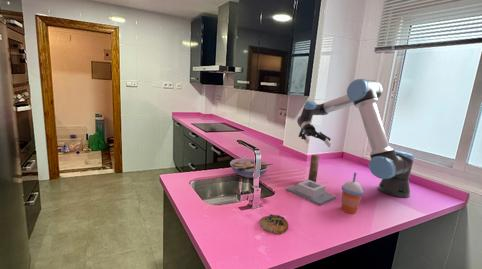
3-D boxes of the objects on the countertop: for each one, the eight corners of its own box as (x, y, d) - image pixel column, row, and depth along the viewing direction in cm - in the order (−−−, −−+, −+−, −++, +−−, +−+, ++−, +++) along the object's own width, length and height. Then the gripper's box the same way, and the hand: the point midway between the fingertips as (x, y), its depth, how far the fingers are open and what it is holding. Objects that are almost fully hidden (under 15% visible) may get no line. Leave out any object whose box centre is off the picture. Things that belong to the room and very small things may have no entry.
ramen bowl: (253, 167, 165) (254, 155, 163) (277, 179, 146) (278, 165, 145) (220, 172, 150) (221, 159, 149) (242, 186, 132) (243, 171, 130)
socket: (335, 198, 126) (336, 188, 125) (319, 205, 117) (321, 195, 115) (302, 184, 140) (303, 176, 139) (286, 190, 131) (287, 181, 130)
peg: (317, 183, 145) (321, 156, 141) (313, 184, 142) (316, 157, 139) (310, 180, 148) (314, 154, 145) (306, 182, 145) (309, 155, 142)
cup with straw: (347, 216, 109) (353, 176, 105) (334, 206, 117) (339, 169, 114) (364, 214, 111) (371, 176, 108) (350, 204, 120) (356, 169, 116)
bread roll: (284, 219, 103) (286, 208, 101) (290, 238, 92) (292, 227, 91) (257, 218, 102) (258, 208, 101) (260, 238, 92) (261, 227, 90)
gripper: (323, 136, 169) (336, 152, 150) (288, 130, 165) (296, 145, 146) (327, 126, 166) (341, 141, 147) (291, 120, 162) (300, 134, 143)
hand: (319, 143), depth 146 cm, fingers open, 13 cm apart
